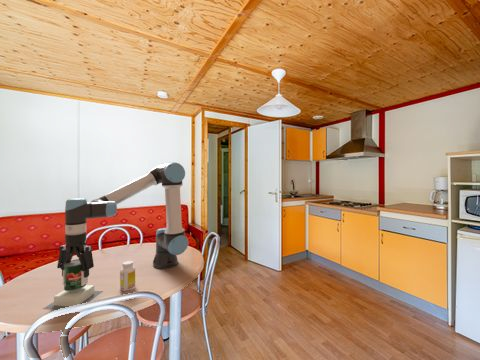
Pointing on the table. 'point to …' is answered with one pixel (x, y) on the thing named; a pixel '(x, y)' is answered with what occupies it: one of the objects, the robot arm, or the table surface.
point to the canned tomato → (72, 275)
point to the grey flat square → (68, 306)
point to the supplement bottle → (127, 276)
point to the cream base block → (73, 296)
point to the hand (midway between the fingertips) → (75, 283)
